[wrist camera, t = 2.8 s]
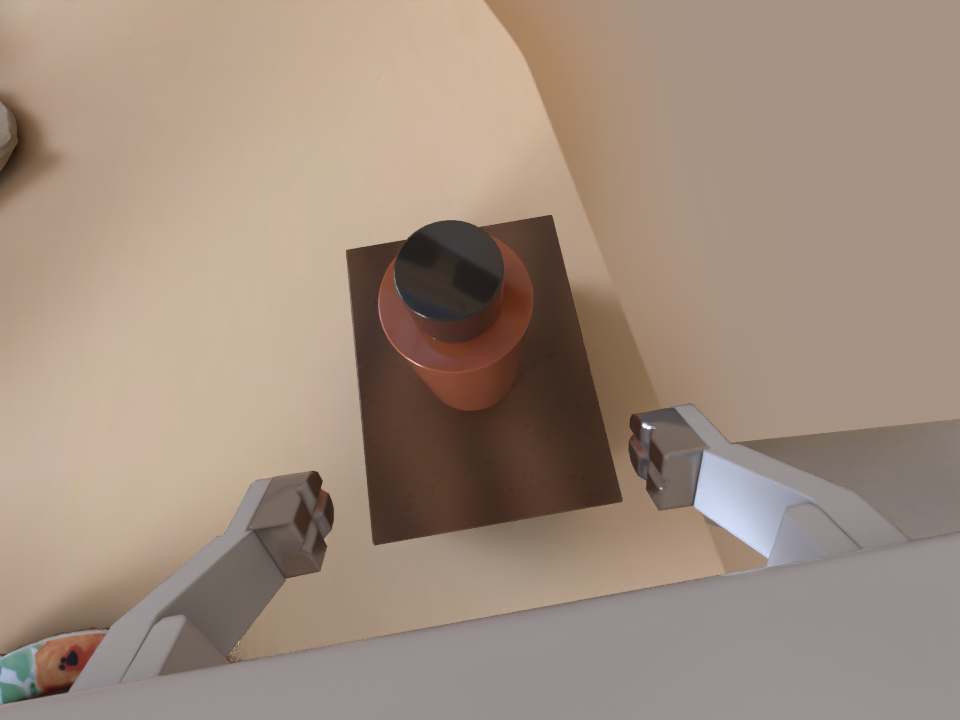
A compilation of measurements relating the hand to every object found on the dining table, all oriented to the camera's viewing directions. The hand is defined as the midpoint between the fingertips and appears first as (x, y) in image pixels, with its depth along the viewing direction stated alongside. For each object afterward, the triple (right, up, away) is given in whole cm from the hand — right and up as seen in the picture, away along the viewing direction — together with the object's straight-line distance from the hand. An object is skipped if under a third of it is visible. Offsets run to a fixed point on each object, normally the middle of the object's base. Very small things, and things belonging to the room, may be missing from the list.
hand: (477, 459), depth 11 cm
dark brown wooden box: (0, 0, +19) cm, 19 cm away
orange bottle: (0, +2, +12) cm, 12 cm away
